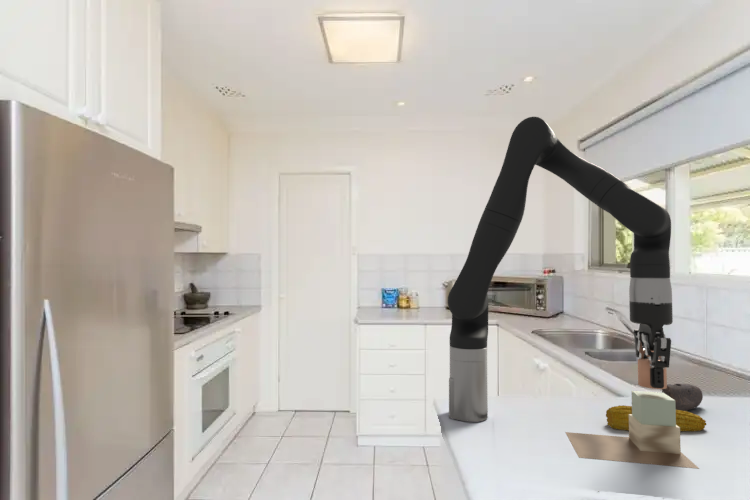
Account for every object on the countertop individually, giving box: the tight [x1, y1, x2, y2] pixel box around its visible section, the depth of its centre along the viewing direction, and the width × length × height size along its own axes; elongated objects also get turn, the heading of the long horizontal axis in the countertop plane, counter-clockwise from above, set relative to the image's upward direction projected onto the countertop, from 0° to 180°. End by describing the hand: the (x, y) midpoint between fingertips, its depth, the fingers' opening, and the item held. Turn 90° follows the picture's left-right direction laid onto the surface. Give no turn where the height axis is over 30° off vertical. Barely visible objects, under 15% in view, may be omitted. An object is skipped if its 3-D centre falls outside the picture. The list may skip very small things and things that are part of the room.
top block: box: [631, 390, 676, 427], centre depth 92 cm, size 6×6×5 cm
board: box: [565, 431, 700, 469], centre depth 90 cm, size 20×14×1 cm
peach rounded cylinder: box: [637, 358, 668, 390], centre depth 93 cm, size 5×5×5 cm
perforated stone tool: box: [661, 383, 704, 412], centre depth 120 cm, size 15×5×7 cm, turn 112°
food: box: [605, 405, 707, 432], centre depth 103 cm, size 21×6×6 cm, turn 89°
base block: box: [628, 414, 681, 454], centre depth 92 cm, size 7×7×5 cm
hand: (652, 383), depth 92 cm, fingers closed on peach rounded cylinder, 4 cm apart
